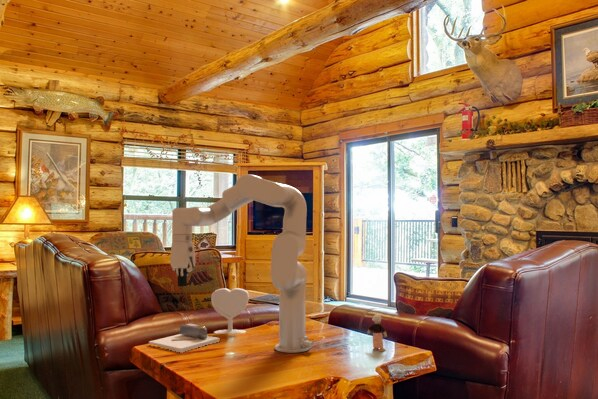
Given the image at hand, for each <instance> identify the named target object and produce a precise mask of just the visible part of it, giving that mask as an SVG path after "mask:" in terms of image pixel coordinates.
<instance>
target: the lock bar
mask: <svg viewBox="0 0 598 399" xmlns="http://www.w3.org/2000/svg"><path fill="white" fill-rule="evenodd" d="M179 326H180V327H179V334H182V335H187V336H191V337H196V338H199V339H205V338H207V336H208V328H207V327H206V326H199V327H196V326H190V325H186V324H185V323H184V324H180V325H179Z"/></svg>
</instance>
